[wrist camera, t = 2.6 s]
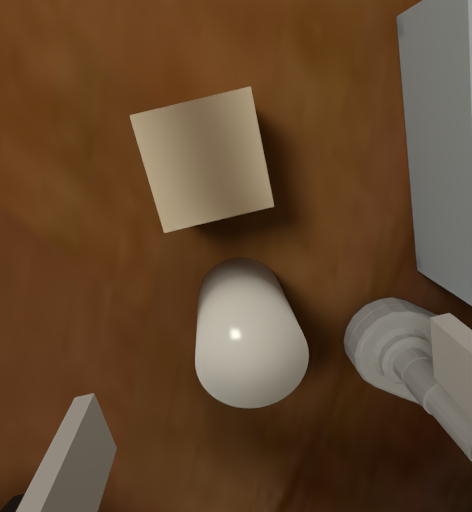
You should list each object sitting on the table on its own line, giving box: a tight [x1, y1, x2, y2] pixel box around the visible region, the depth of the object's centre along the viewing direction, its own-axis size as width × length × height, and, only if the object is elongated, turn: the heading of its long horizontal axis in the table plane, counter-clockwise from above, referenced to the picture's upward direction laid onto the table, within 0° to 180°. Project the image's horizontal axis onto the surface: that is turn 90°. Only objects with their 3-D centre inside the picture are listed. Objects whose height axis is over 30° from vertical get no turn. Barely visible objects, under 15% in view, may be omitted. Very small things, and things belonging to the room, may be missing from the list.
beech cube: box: [130, 86, 274, 233], centre depth 19 cm, size 5×5×5 cm
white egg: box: [195, 258, 309, 408], centre depth 20 cm, size 5×5×7 cm
